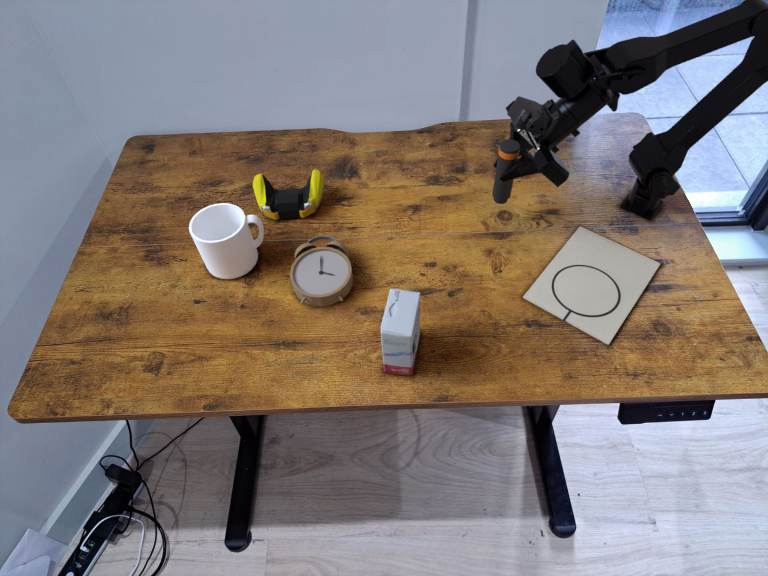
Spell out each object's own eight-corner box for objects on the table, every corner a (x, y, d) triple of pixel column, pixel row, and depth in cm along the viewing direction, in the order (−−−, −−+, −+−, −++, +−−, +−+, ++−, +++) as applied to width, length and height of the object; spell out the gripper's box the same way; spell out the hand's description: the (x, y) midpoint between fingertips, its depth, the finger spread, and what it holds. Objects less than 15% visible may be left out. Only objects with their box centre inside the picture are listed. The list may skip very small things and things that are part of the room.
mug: (207, 284, 95) (188, 247, 87) (206, 247, 102) (188, 209, 93) (274, 270, 97) (261, 233, 89) (268, 234, 103) (256, 195, 95)
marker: (493, 191, 99) (502, 137, 89) (511, 195, 98) (522, 141, 88) (489, 203, 97) (497, 149, 87) (507, 207, 96) (518, 153, 86)
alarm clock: (288, 301, 89) (290, 229, 96) (293, 313, 93) (294, 244, 100) (352, 296, 89) (349, 225, 96) (355, 308, 93) (351, 239, 100)
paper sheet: (579, 227, 101) (580, 225, 100) (660, 264, 94) (661, 263, 94) (521, 299, 91) (522, 297, 90) (607, 346, 84) (608, 345, 83)
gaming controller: (258, 191, 111) (254, 223, 105) (251, 171, 107) (247, 203, 101) (326, 186, 111) (326, 218, 105) (323, 165, 107) (322, 198, 101)
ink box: (412, 377, 82) (412, 337, 73) (382, 372, 83) (379, 332, 73) (420, 333, 87) (421, 290, 78) (392, 328, 88) (390, 286, 78)
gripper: (525, 54, 85) (456, 120, 93) (567, 118, 74) (484, 187, 82) (560, 91, 92) (493, 150, 100) (603, 155, 80) (524, 215, 89)
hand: (498, 173), depth 92 cm, fingers closed on marker, 3 cm apart
